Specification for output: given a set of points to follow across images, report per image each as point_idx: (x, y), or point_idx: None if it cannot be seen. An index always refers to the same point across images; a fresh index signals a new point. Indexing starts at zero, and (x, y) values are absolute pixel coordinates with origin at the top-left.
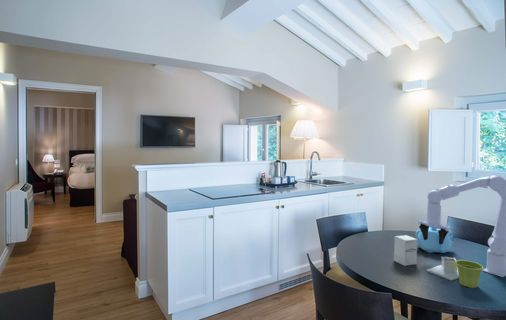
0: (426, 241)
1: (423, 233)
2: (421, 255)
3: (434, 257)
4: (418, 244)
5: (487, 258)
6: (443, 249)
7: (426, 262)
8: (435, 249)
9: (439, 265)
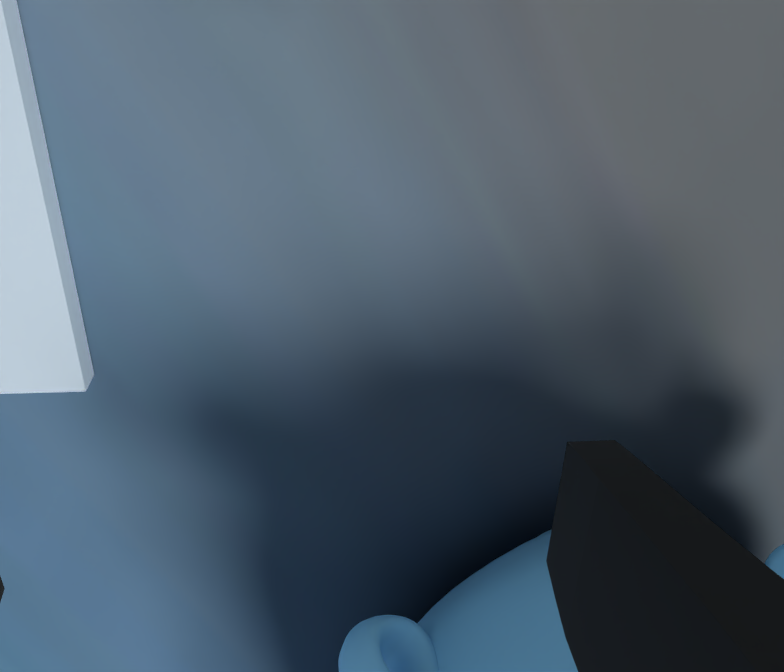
0: None
1: (780, 646)
2: (584, 329)
3: (398, 425)
4: (778, 563)
5: None
6: (342, 655)
7: (328, 60)
8: (469, 598)
9: (1, 46)
